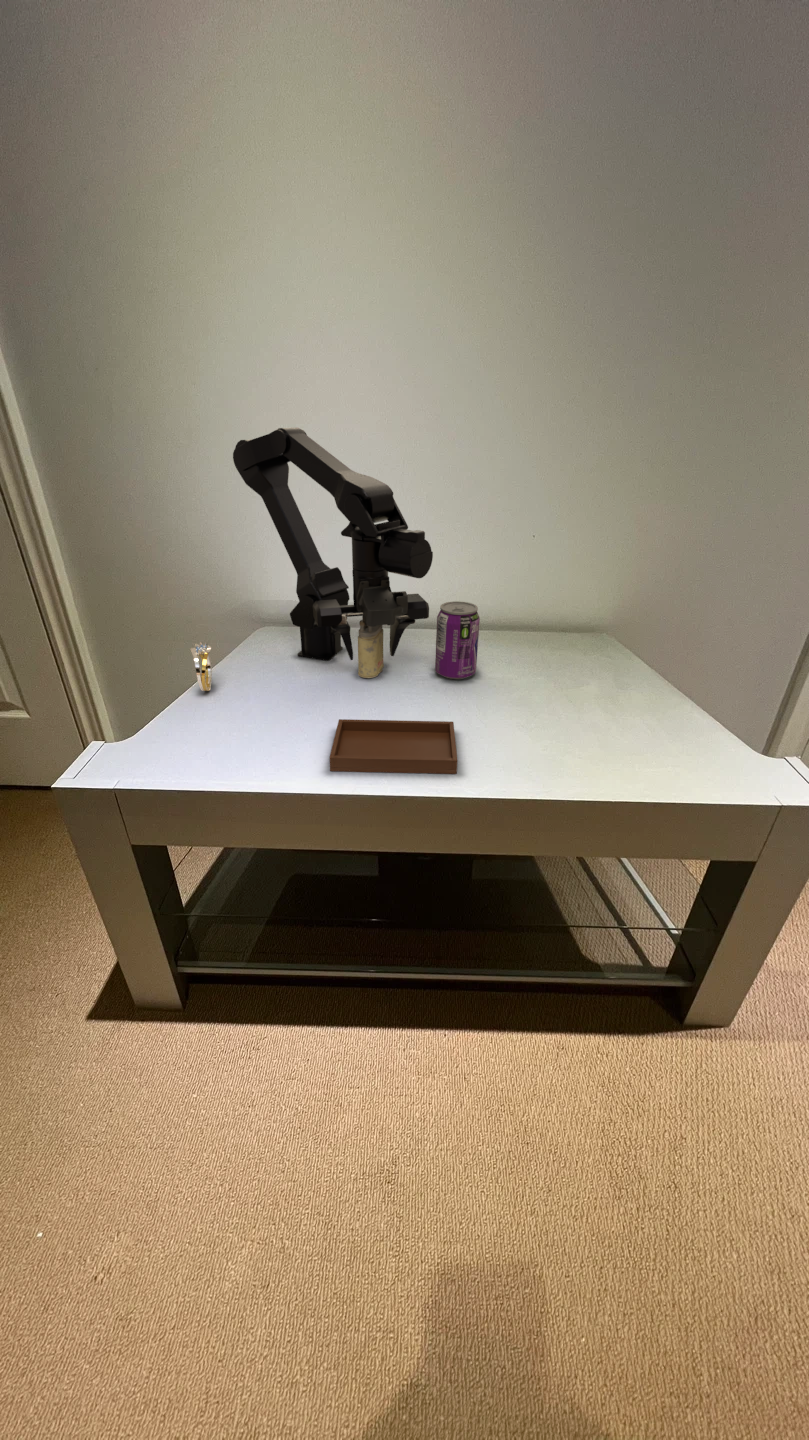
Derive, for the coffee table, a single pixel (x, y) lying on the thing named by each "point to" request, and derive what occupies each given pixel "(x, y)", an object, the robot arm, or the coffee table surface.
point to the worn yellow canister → (370, 650)
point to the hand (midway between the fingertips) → (371, 657)
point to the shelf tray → (394, 747)
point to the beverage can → (457, 640)
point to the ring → (203, 665)
